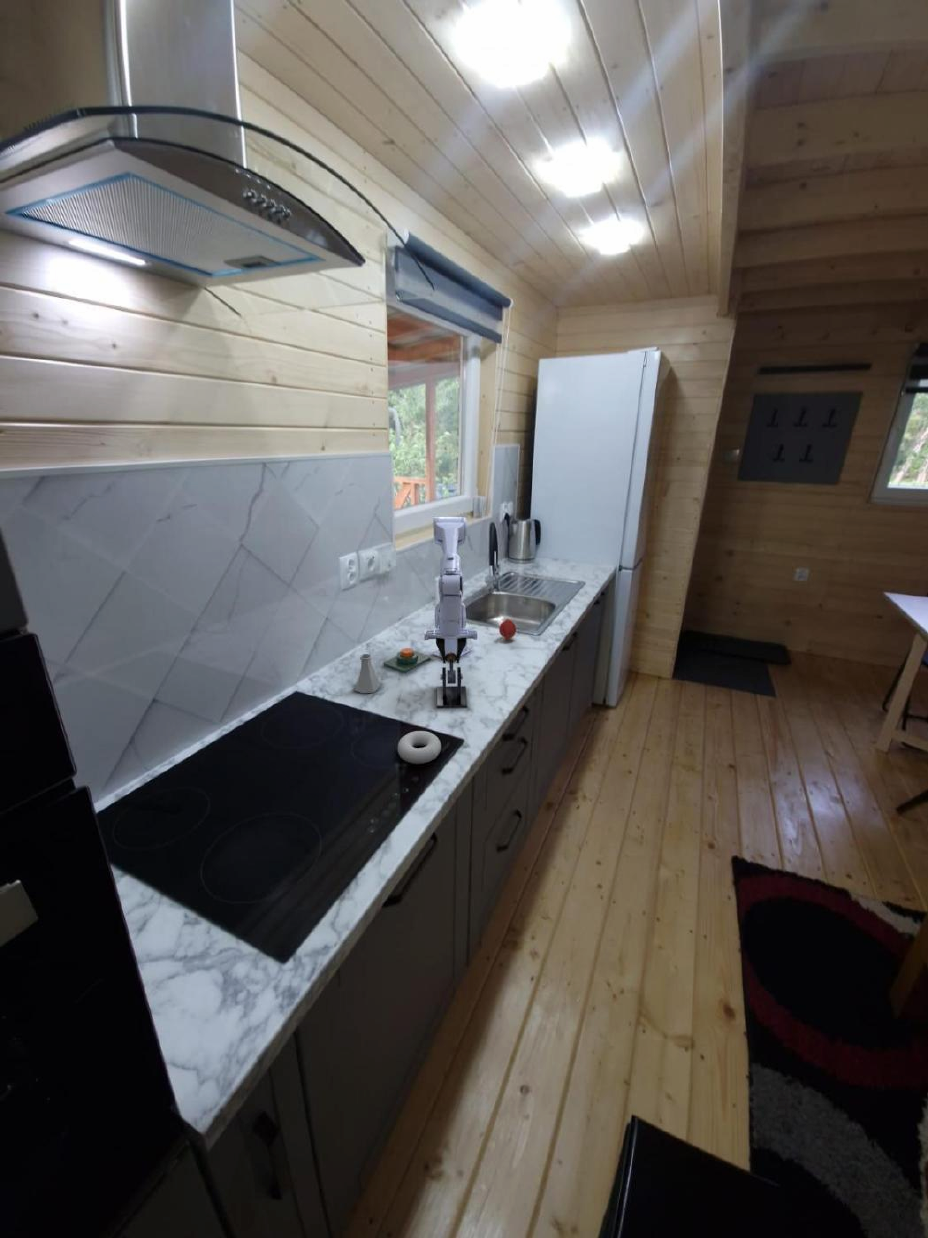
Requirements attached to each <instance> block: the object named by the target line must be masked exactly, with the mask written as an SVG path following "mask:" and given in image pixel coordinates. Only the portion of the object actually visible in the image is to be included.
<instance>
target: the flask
mask: <svg viewBox="0 0 928 1238" xmlns="http://www.w3.org/2000/svg"><path fill="white" fill-rule="evenodd" d="M371 659H372V654H370V653H362V654H360V655H359V660H360V664H361V665H360V671H359V674H358V678H357V681H356V683H355V688H354V689H355V690H354V691H355V692H358V693H360V694H371V693H375V692H377V691H378V690H380V689H381V681H380V680H379V677H378V676H377V674H376V672H375V669H374V667H373V665H372V660H371Z"/></svg>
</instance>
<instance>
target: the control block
mask: <svg viewBox="0 0 928 1238" xmlns="http://www.w3.org/2000/svg"><path fill="white" fill-rule="evenodd" d="M429 661H431V656H430V655H427V654H424V653H421V652H418V651H416V650H413V656H412V657H409V658H404V657H402V656H401V650H400V651H398V652H397V653H396V656H394V657H392V658H390V659H388V660H386V661H384V662H383V667H387V668H390V669H392V670H395V671H398V672H400V673H403V674H407V673H409V672H410V671H412V670H414V669H416V668H417V667H419V666H421V665H423V664H424V663H425V662H426V663H427V662H429Z"/></svg>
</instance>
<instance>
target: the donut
mask: <svg viewBox="0 0 928 1238" xmlns="http://www.w3.org/2000/svg"><path fill="white" fill-rule="evenodd" d="M418 746H422V747H419V748H417V747H418ZM441 750H442V743H441V740H440V739H439V737H438V736H437V735H436V734H434V733H432V732H429V731H426V730H415V731H411V732H408V733H407V734H405V735H403V736H402V737H401V738H400V740H399V742H398V743H397V753H398V755H399V757H400V758H401V759H402V760H404V761H405V762H407V763H410V764H415V765H423V764H427V763H429V762H430V763H431V762H432V761H433V760H435V759H436V758H437V757H438V756H439V755H440V753H441Z"/></svg>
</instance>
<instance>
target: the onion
mask: <svg viewBox="0 0 928 1238" xmlns="http://www.w3.org/2000/svg"><path fill="white" fill-rule="evenodd" d="M498 629H499V634H500V636H501V637H503V638H504V639H505V640H507V641H509V640H510V639H512V638H513V637H514V636H515V635H516V633H517V627H516V625H515V623H514V622H513V621H512V620H510V618H506V619H505V620H503V622H501V624H500V625H499V628H498Z"/></svg>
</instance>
